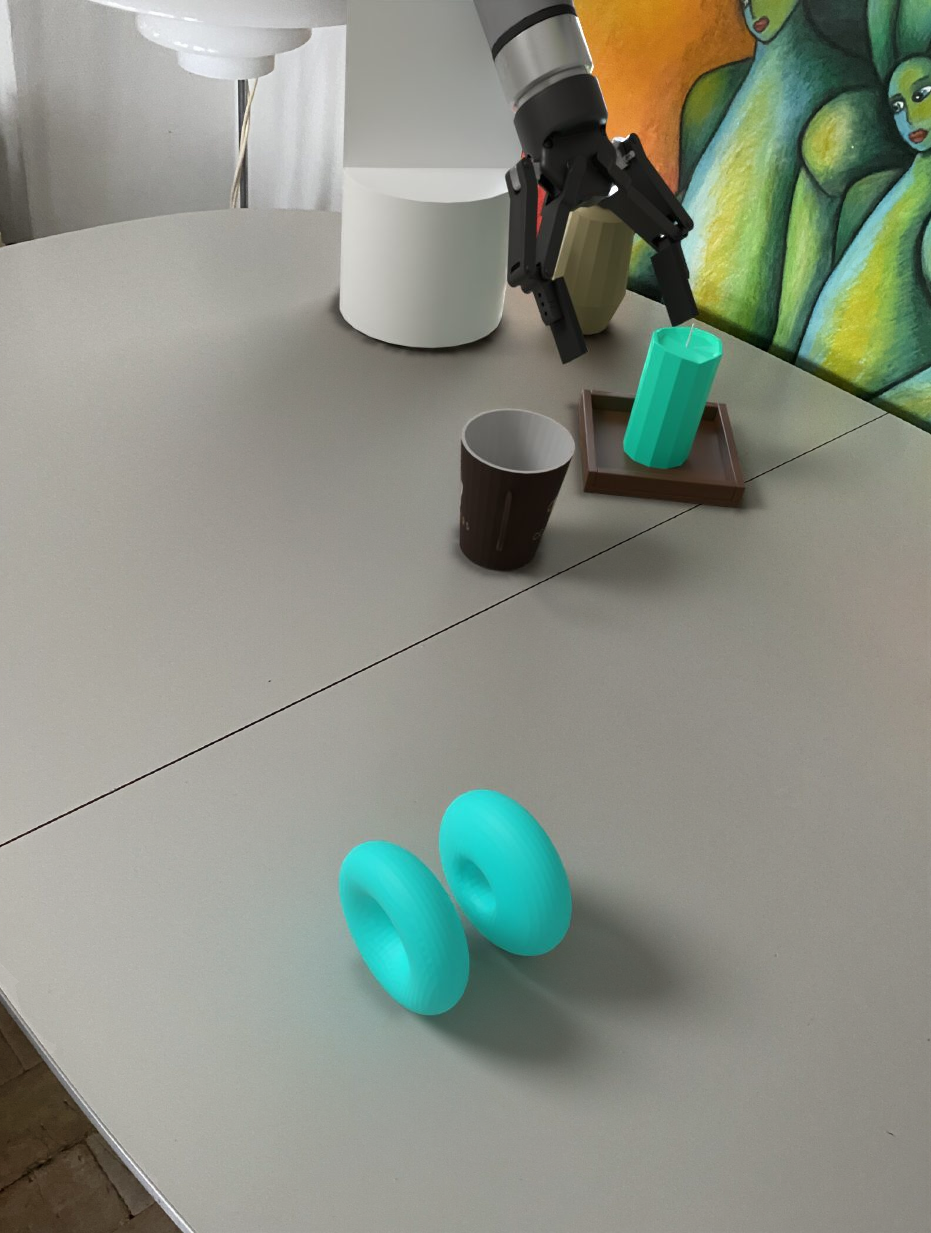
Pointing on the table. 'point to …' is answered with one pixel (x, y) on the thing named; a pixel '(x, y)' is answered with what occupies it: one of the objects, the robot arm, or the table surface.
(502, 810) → the donuts
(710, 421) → the walnut tray
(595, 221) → the squeeze bottle
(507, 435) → the coffee mug
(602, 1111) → the table surface
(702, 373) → the candle
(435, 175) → the cylinder
